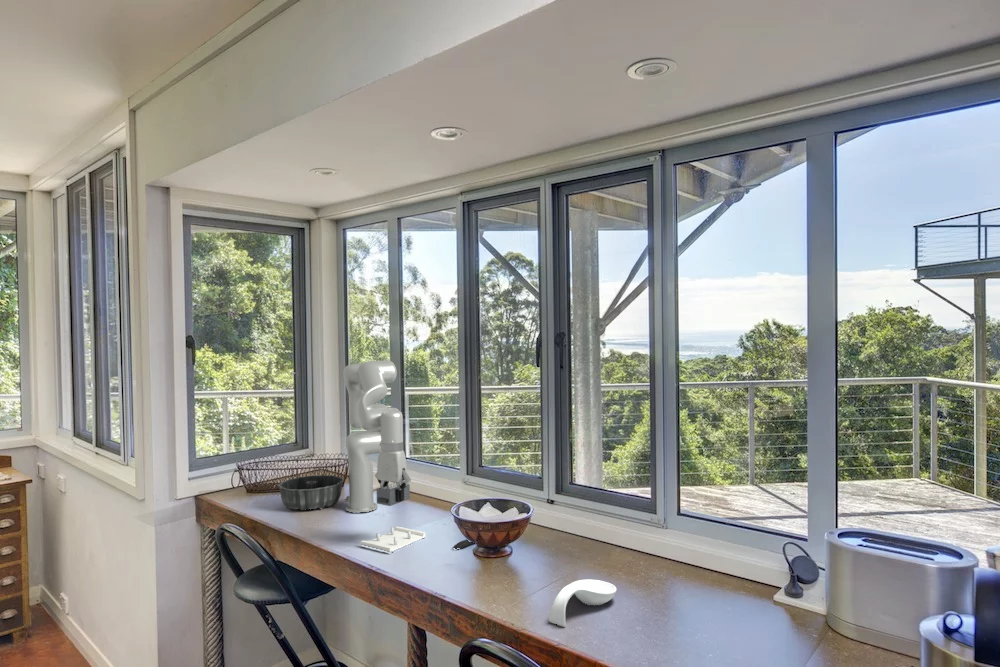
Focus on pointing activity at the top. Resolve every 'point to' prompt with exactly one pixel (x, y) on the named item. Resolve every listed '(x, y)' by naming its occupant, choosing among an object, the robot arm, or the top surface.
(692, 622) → the top surface
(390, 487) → the block
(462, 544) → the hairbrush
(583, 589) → the spoon rest
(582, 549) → the top surface
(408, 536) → the tray
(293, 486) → the bundt pan
